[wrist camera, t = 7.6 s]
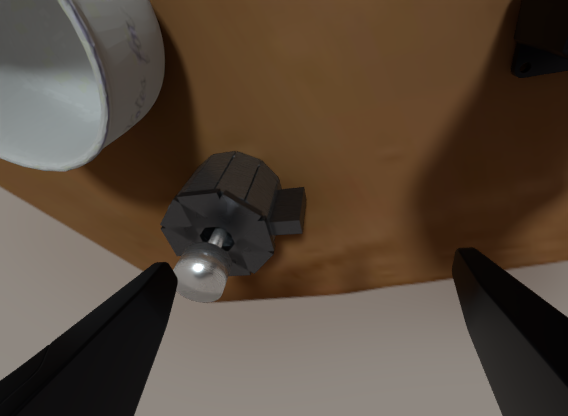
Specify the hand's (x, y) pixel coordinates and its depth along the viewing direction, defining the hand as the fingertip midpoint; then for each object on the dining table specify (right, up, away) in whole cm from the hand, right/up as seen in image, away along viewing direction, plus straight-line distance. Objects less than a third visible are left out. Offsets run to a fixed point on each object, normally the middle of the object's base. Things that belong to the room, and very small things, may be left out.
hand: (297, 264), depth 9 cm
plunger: (-4, +2, +13) cm, 14 cm away
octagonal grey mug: (-4, +3, +14) cm, 15 cm away
